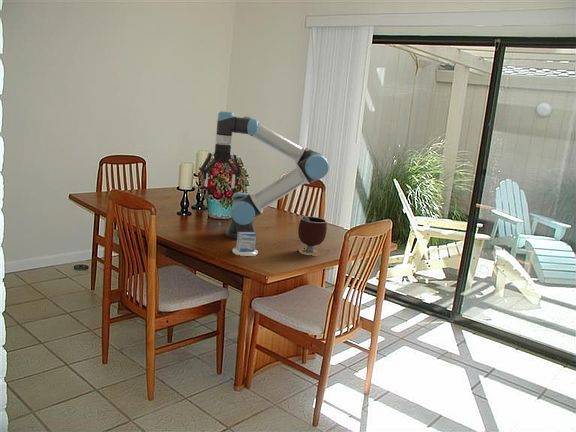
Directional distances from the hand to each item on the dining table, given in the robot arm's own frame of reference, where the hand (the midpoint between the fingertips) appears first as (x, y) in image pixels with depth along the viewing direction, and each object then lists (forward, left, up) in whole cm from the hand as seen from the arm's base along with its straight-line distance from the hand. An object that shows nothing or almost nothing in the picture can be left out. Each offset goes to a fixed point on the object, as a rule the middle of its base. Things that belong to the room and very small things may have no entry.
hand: (219, 187), depth 274 cm
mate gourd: (-45, +14, -27) cm, 55 cm away
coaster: (-12, +19, -27) cm, 35 cm away
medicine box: (-12, +19, -26) cm, 35 cm away
